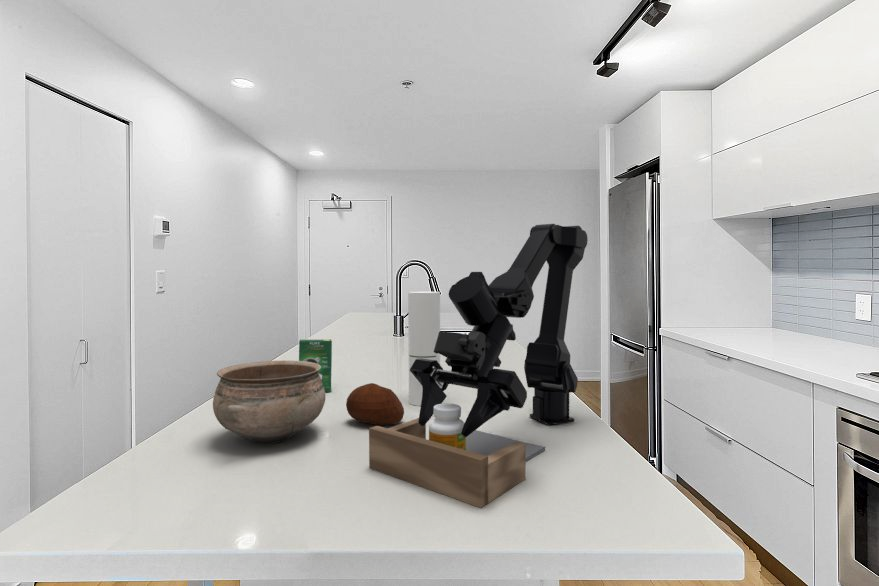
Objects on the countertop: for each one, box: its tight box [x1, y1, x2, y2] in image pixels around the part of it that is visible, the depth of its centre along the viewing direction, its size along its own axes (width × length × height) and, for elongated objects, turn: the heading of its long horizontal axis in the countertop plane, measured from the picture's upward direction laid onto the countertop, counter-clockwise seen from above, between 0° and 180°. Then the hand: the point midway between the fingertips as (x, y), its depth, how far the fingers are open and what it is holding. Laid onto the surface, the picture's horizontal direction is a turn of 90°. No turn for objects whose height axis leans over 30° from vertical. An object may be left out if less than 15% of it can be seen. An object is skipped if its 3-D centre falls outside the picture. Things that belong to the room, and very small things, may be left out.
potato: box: [345, 382, 405, 426], centre depth 95 cm, size 8×12×8 cm, turn 85°
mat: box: [466, 429, 546, 463], centre depth 81 cm, size 12×14×1 cm
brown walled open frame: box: [368, 417, 527, 509], centre depth 71 cm, size 11×20×6 cm, turn 51°
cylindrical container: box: [407, 291, 441, 407], centre depth 111 cm, size 7×7×25 cm
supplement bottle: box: [428, 402, 466, 450], centre depth 72 cm, size 5×5×10 cm
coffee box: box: [298, 339, 333, 393], centre depth 121 cm, size 8×3×13 cm, turn 103°
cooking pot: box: [212, 360, 326, 444], centre depth 88 cm, size 25×19×12 cm
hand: (441, 429), depth 71 cm, fingers open, 8 cm apart
